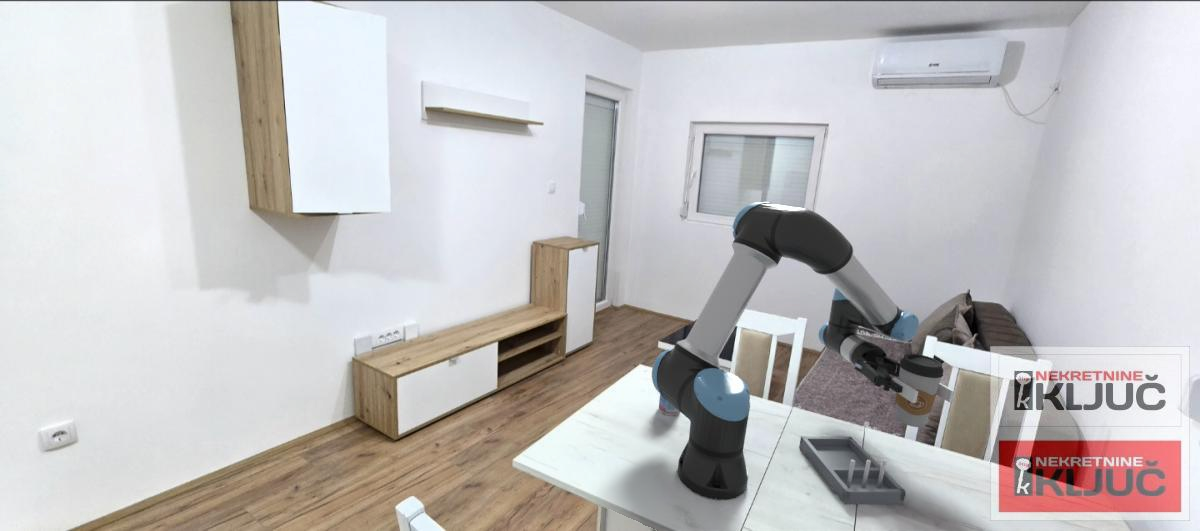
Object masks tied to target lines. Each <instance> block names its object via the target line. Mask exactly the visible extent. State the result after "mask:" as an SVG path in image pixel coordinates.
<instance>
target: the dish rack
mask: <svg viewBox="0 0 1200 531" xmlns="http://www.w3.org/2000/svg"><path fill="white" fill-rule="evenodd" d="M798 446H799V448H800V450H801V451H802V452H803V453H804V455H805V456H806V457H807V459H808V461H810V462H811V464H812V465H813V466H814V467H815V470H816V471H817V472H818V473H819V474H820V476H822V478H823V479H824V481H826V483H827V484H828V485H829V487H830V488H831V489H832V491H833V492H834V493H835V494H836V495H837V497H838V498H839V499H840V501H841V502H842V503H843V504H844V505H904V504H905V499H906V495H907V491H906V490H905V489H904V488H903V487H902V486H901V485H900V484H899V483H898V482H897V481H896V480H895V479H894V478H893V477H892V476H891V475H890V474H889V473H888V472H887V471H886V470H885V469H886V465H887V461H886V460H885V459H882V460H881V464H879V463H878V462H877V461H876V460H875V459H874V458H873V457H872V456H871V455H870V454H869V453H868V452H867V451H866V450H865V449H864V448H863V447H862V446H861V445H860V444H859V443H858V442H857V441H856V440H855V439H854V438H853V437H852V436H826V435H825V436H819V435H817V436H816V435H815V436H813V435H812V436H811V435H810V436H809V435H800V440H799V445H798Z"/></svg>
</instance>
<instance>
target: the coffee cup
mask: <svg viewBox="0 0 1200 531" xmlns="http://www.w3.org/2000/svg"><path fill="white" fill-rule="evenodd" d="M900 360H901V362H900V361H899V362H900V364H899V365H900V371H899V377H898V379H899V380H900V381H902V382H904V383H905V384H907V385H908V386H910V387H912V388H913V389H915V390H916V391H918V396H917V400H916V403H912V402H910V401H909V400H907V399H906V398H904V397H903V396H901V395H900V394H898V393H897V392H895V401H894V402H895V404H894V411H893V415H894V417H895V418H894V419H896V420H897V421H898V422H900V423H902V424H904V425H906V426H910V427H914V428H924V426H925V425H927V422H928V420H929V417H930V413H931V412H932V409H933V406H934V402H935V400H936V396H937V395H936V394H937V389H938V386H939V383H941V380H942V378H943V377H944V368H943V363H942V362H941V361H940V360H937V359H936V358H934V357H930V356H927V355H923V354H918V353H905V354H904V355H903V358H900Z"/></svg>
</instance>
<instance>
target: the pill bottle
mask: <svg viewBox="0 0 1200 531" xmlns="http://www.w3.org/2000/svg"><path fill="white" fill-rule="evenodd" d="M658 402H659V403H658V410H659V411H660V413H662V414H664V415H667V416H677V415H679V414H680V413H681V412H680V411H679V410H678V409H677V408H675V407H674V406H673V405H672V404H671V403H670V402H669V401H667V400H665V399H664V398H663V397H662V396H661V394H660V393H659V400H658Z"/></svg>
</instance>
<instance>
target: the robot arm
mask: <svg viewBox="0 0 1200 531" xmlns="http://www.w3.org/2000/svg"><path fill="white" fill-rule="evenodd" d="M732 229H733V231H732V237H733V238H734V239H733V241H732V244H731V246H732V250H733V254H732V256H731V258H730V260H729V261H728V263H727V265H726V267H725V268H724V270H723V272H722V275H721V276H720V278H719V280H718V281H717V283H716V285H715V286H714V289H713V290H712V292H711V294H710V296H709V297H708V299H707V300H706V302H705V304H704V306H703V309H701V312H700V313H699V316H698V317H697V319H696V321H695V323H694V324H693V326H692V327H691V329H690V332H689V333H688V334H687V336H686V338H685V339H682V340H678V341H677V342H676V343H675V345H674V346H673V348H668V349H665V351H662V352H661V353H659V355H658V357H656V359H655V360H654V362H653V365H652V370H651V379H652V384H653V387H654V389H655V390H656V391H657V392H658V393H659V395H660V394H661V396H662V397H663V398H664V399H665V400H667V401H669V402H670V403H671V404H672V405H673V406H674V407H675V408H677V409H678V410H679V411H680V413H681V414H682V415H684V416H685V417H686V418H687V419H688V420H689V422H690V426H689V437H688V440H687V442H686V445H685V446H684V448H683V450H682V451H681V454H680V456H679V458H678V462H677V464H678V465H677V475H678V479H679V481H680V482H681V483H682V484H683V485H684V486H685V488H687V489H688V490H690V491H691V492H693V493H695V494H696V495H699V496H701V497H703V498H707V499H710V500H716V501H729V500H734V499H736V498H738V497H740V496H742V495H743V494H744V493H745V492H746V490H747V488H748V481H749V473H748V468H747V465H746V459H745V455H744V454H745V453H744V447H745V439H746V434H747V428H748V421H749V414H750V411H751V410H750V409H751V402H750V400H751V392H750V389H749V386H748V385H747V383H746V382H745V381H744V380H743V379H742V378H741V377H740V376H738V375H736V374H734V373H733V372H731V371H725V370H724V369H721V364H720V361H719V357H720V355H721V353H722V351H723V349H724V348H725V345H726V344H727V343H728V341H729V338H730V337H731V335H732V333H733V331H734V330H735V328H736V326H737V325H738V322H739V321H740V318H741V317H742V315H743V313H744V312H745V310H746V309H747V306H748V305H749V303H750V301H751V299H752V297H753V296H754V295H755V292H756V290H757V288H758V287H759V285H760V284H761V281H762V279H763V278H764V276H765V275H766V273H767V271H768V270H770V269H774V268H777V266H778V265H779V263H780V261H781V260H782V259H783V258H786V259H790V260H793V261H797V262H799V263H802V264H805V265H806V266H808V267H810V269H811V270H813V271H814V273H816V274H818V275H821V276H822V275H823V276H824V277H825V278H827V279H828V281H830V283H831V284H833V285H834V287H835V289H834V292H833V298H832V299H831V307H830V313H829V320H828V322H825V323H823V325H821V327H820V329H819V331H818V339H819V341H820V343H821V344H822V345H823V346H825V347H826V348H827V349H828V350H830V351H832V352H834V353H835V354H837V355H838V356H840V357H841V358H843V359H844V360H846V361H847V362H849V363H851V365H852V366H854V369H855V371H858V372H859V373H861V374H862V375H863V376H864V377H865V378H866V379H867V380H869V381H870V383H872V384H873V385H874V386H875V387H879V388H881V386H883V388H882V390H884V391H885V392H890V389H891V391H894V392H895V393H896V392H897V393H898V394H900V395H901V396H903V397H904V398H906V399H907V400H909V401H910V402H912V403H916V400H917V396H918V391H916V390H915V389H913V388H912V387H910V386H908V385H907V384H905V383H904V382H902V381H900V380H899V371H900V365H899V364H900V362H901V359H900V361H897V360H894V359H893V358H892V357H889V356H887V354H886V352H885V350H884V349H883V348H882V347H881V346H879V345H878V344H875V343H873V342H872V341H870V340H869V339H866V338H865V337H863V336H861V335H859V334H858V329H859V327H861V328H864V329H867V330H869V331H872V332H874V333H876V334H879V335H882V336H884V337H888V338H890V339H891V340H896V341H898V342H902V343H903V342H909V341H911V340H913V338H914V337H915V336H916V334H917V333H918V330H919V326H920V322H919V318H918V316H917V315H916V314H914V313H912V312H909V311H907V310H902V309H900V308H899V306H898V305H897V304H896V303H895V302H894V300H892V298H890V296H889V295H888V294H887V293H886V291H885V290H884V289H883V288H882V287H881V285H880V284H879V283H878V281H876V280H875V278H874V277H873V276H872V275H871V274H870V273H869V272H868V270H867V269H866V268H865V267H864V265H863V264H862V263H861V261H859V259H857V257H856V256H855V255H854V247H853V244H852V243H851V242H850V241H849V240H848V239H847V237H846V236H845V235H844V234H843V233H842V232H841V231H840V230H839V229H838V228H837V227H835V225H833V224H832V223H831V222H830V221H829V220H827V219H826V218H824V217H823V216H822V215H820V214H819V213H818V212H815V211H813V210H811V209H808V208H805V207H797V206H790V205H786V204H785V205H784V204H777V203H774V202H770V201H763V202H761V201H760V202H759V201H758V202H757V201H756V202H752V203H750V204H747V205H746V206H744V207H743V208H741V210H740V211H739V212H738V213H737V215H736V217H734V221H733V223H732ZM892 376H894V377H893V378H892ZM954 395H955V390H954V389H952V388H950V387H949V386H947V385H945V384H943V383H941V382H940V383H939V386H938V389H937V394H936V396H938V397H940V398H942V399H943V400H945V401H947V402H948V403H952V402H953V401H954V400H953V399H954Z"/></svg>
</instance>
